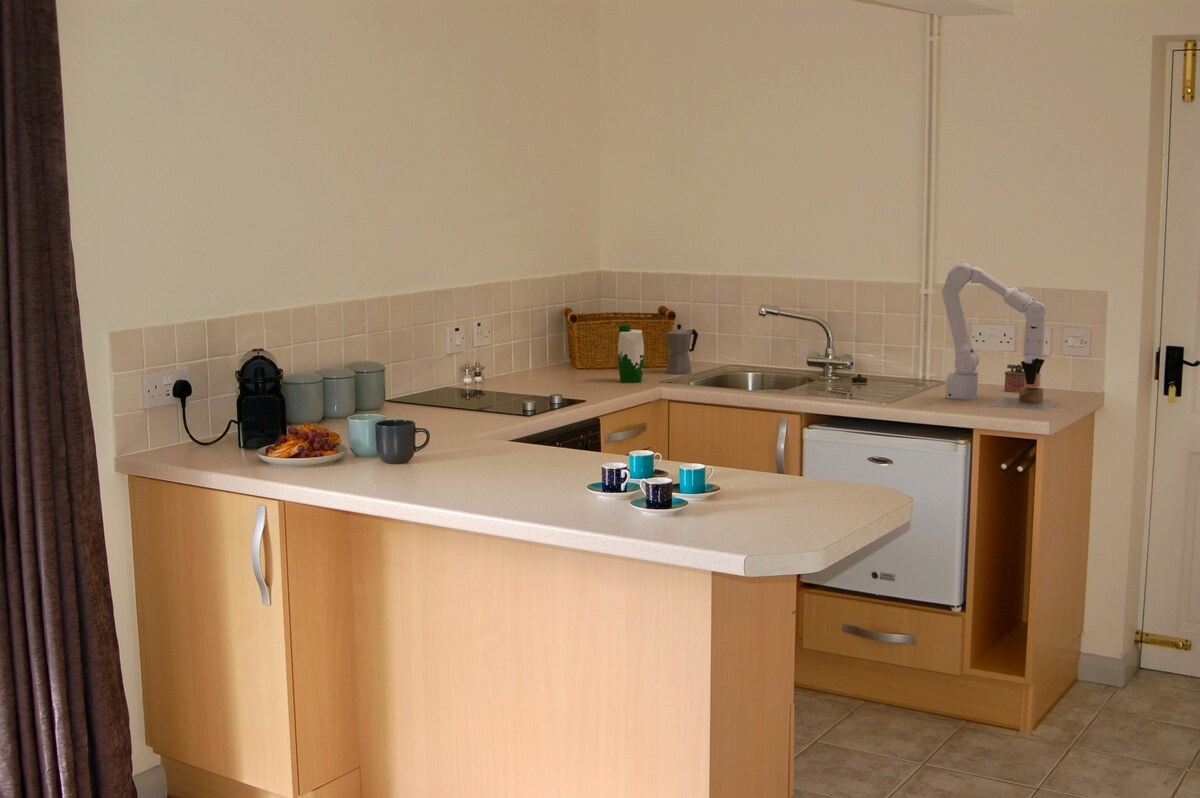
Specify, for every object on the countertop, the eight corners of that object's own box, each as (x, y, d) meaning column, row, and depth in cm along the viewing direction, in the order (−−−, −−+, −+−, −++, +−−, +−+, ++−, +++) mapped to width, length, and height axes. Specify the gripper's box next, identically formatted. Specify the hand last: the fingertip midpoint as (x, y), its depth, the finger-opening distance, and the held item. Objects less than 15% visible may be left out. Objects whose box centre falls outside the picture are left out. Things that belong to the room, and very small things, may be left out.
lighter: (1029, 394, 422) (1031, 364, 420) (1028, 396, 419) (1030, 365, 417) (1004, 392, 426) (1005, 363, 424) (1003, 394, 423) (1004, 364, 421)
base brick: (1018, 402, 403) (1019, 389, 402) (1023, 399, 408) (1023, 386, 407) (1038, 403, 400) (1039, 391, 399) (1042, 400, 405) (1043, 388, 404)
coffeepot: (672, 376, 466) (673, 326, 463) (656, 372, 473) (657, 324, 470) (705, 372, 475) (705, 323, 471) (689, 369, 482) (689, 321, 479)
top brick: (1024, 386, 402) (1024, 374, 401) (1026, 385, 406) (1027, 372, 405) (1037, 387, 400) (1038, 375, 399) (1039, 385, 404) (1040, 373, 403)
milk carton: (618, 379, 460) (618, 323, 456) (643, 379, 459) (643, 323, 456) (618, 383, 451) (618, 326, 447) (644, 383, 451) (644, 326, 447)
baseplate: (988, 408, 398) (988, 405, 398) (1001, 399, 413) (1002, 396, 413) (1048, 413, 389) (1049, 410, 389) (1060, 404, 404) (1060, 401, 404)
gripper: (1042, 343, 392) (1040, 387, 395) (1051, 338, 405) (1049, 380, 407) (1018, 342, 396) (1016, 385, 398) (1028, 336, 408) (1026, 379, 410)
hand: (1031, 383), depth 403 cm, fingers closed on top brick, 4 cm apart
